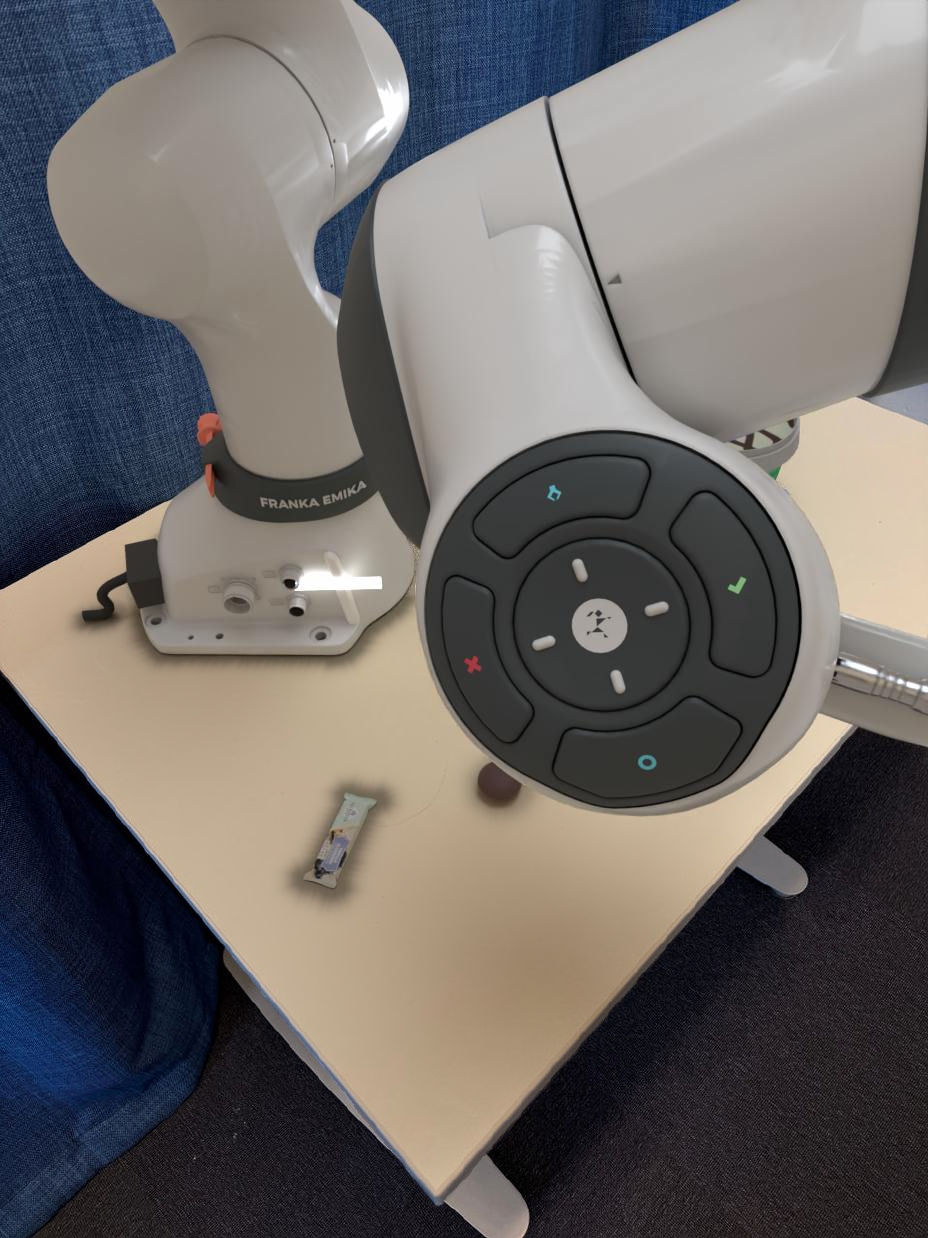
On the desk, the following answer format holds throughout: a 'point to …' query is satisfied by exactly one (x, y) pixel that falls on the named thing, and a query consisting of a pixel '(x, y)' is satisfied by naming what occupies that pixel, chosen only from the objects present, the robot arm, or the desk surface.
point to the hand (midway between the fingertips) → (715, 617)
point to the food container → (770, 445)
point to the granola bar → (340, 840)
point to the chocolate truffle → (497, 783)
